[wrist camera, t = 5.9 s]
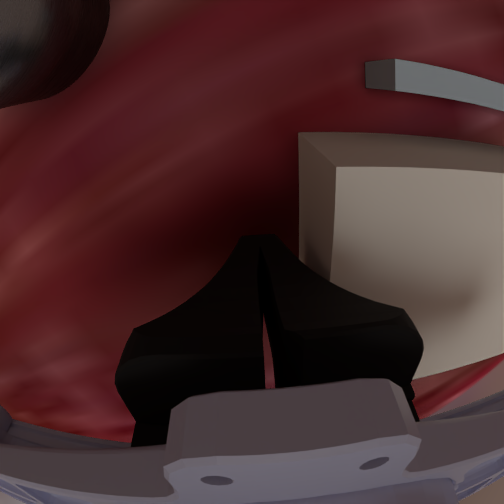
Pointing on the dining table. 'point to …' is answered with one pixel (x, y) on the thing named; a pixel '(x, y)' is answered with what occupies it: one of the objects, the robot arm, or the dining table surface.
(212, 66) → the dining table surface
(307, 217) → the carton
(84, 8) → the grey glossy ball
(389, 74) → the display stand
